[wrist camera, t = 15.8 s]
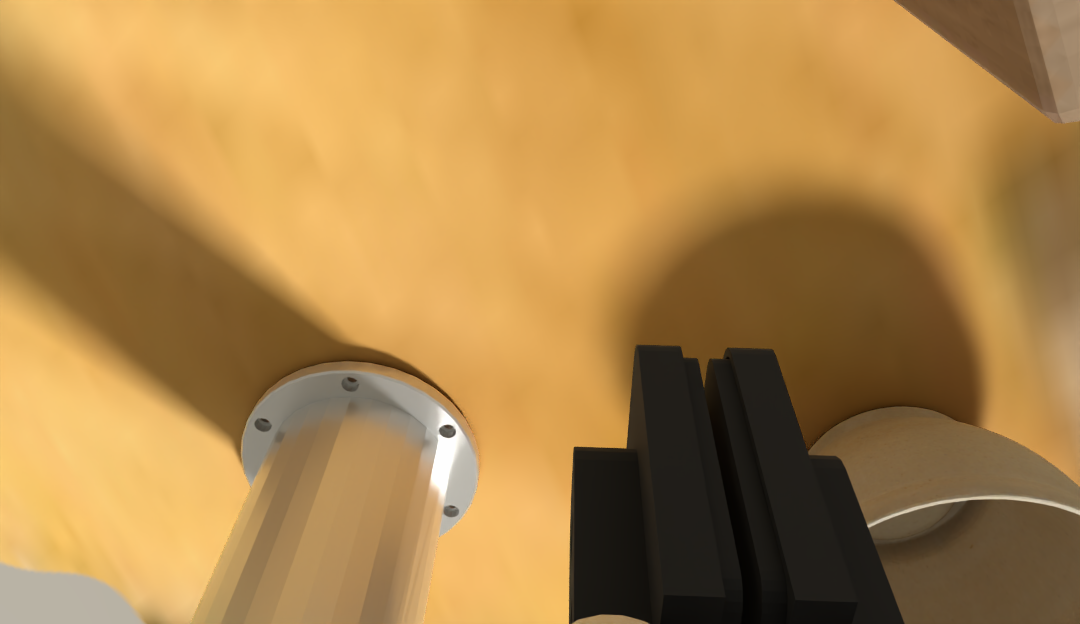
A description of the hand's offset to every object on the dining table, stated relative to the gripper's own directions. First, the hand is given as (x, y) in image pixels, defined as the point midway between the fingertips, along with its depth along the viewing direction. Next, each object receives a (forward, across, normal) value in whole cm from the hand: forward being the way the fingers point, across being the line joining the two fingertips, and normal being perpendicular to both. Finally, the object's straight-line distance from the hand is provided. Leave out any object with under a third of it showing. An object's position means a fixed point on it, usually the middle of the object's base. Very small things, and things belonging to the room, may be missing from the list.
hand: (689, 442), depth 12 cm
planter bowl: (+29, -16, +25) cm, 42 cm away
